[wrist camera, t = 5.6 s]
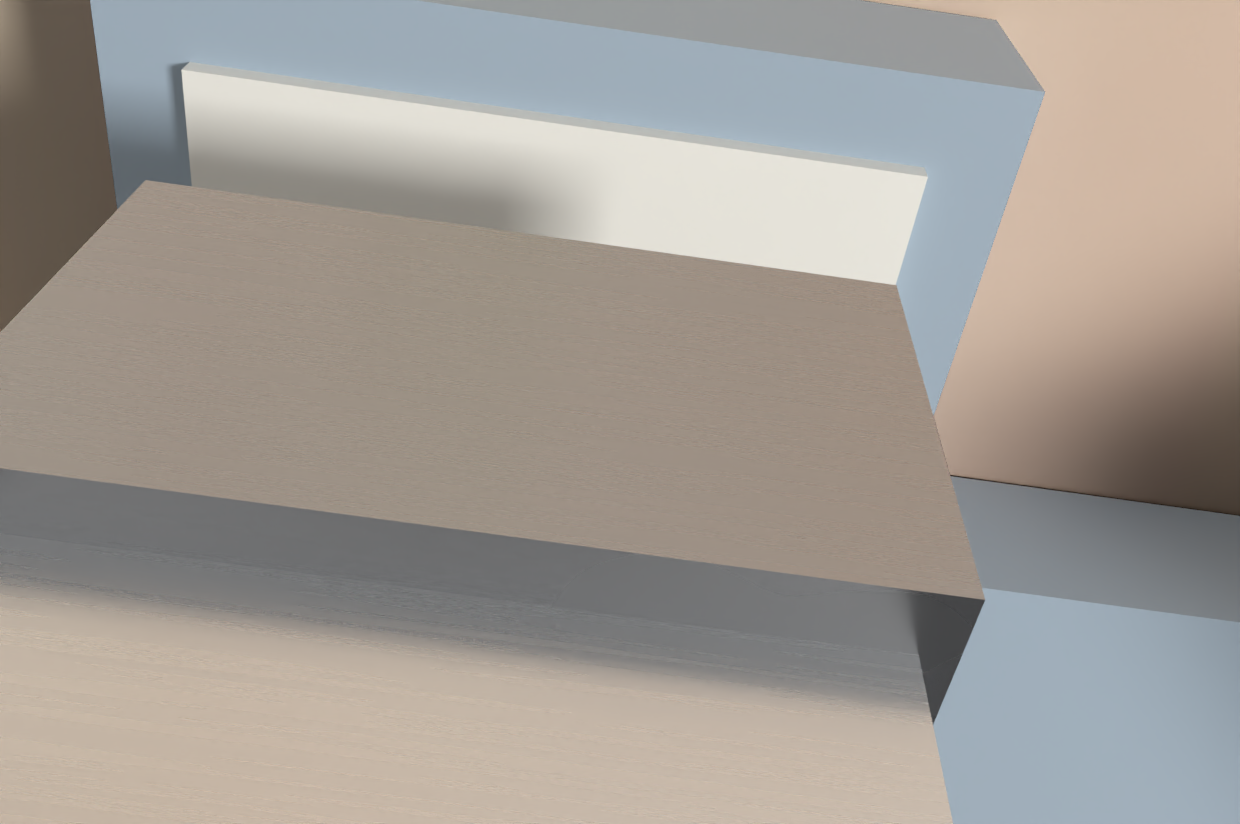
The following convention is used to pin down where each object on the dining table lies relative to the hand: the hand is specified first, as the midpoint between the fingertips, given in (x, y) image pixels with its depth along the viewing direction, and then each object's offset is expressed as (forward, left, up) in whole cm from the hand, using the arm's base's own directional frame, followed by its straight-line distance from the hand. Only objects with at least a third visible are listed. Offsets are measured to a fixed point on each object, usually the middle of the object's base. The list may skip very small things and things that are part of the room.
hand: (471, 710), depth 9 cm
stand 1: (0, 0, -6) cm, 6 cm away
